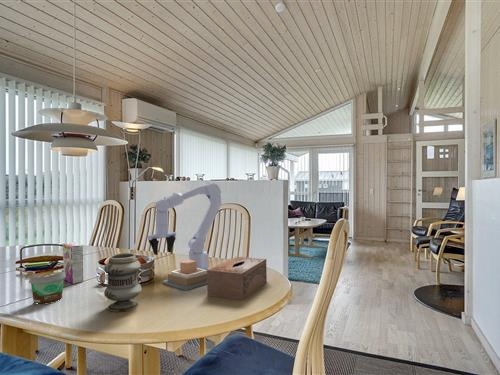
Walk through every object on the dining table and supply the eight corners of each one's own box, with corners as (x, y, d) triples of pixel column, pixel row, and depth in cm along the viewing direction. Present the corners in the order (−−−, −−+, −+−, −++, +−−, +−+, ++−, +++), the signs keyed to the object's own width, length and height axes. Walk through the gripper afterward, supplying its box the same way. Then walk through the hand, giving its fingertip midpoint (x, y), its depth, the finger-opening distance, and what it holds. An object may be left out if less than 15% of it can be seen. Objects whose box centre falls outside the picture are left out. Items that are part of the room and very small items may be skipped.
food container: (37, 308, 115) (37, 279, 115) (29, 305, 118) (28, 277, 118) (72, 297, 125) (72, 271, 125) (63, 295, 129) (63, 269, 129)
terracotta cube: (188, 271, 147) (187, 259, 147) (196, 272, 145) (196, 261, 145) (180, 273, 143) (180, 262, 143) (189, 275, 140) (189, 263, 140)
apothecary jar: (104, 315, 107) (103, 260, 107) (104, 303, 118) (103, 253, 118) (143, 309, 112) (142, 256, 112) (140, 298, 123) (139, 250, 123)
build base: (191, 275, 155) (191, 264, 155) (215, 281, 144) (215, 270, 144) (162, 283, 143) (162, 271, 143) (186, 290, 132) (186, 278, 132)
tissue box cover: (241, 301, 120) (241, 273, 120) (207, 296, 126) (207, 270, 126) (266, 281, 144) (266, 258, 144) (236, 278, 150) (236, 256, 150)
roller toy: (103, 281, 146) (102, 268, 146) (117, 281, 146) (117, 268, 146) (98, 284, 142) (98, 271, 142) (113, 284, 142) (113, 271, 142)
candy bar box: (62, 279, 150) (62, 243, 150) (74, 277, 154) (74, 242, 154) (71, 284, 143) (71, 246, 142) (83, 282, 146) (83, 244, 146)
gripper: (169, 222, 166) (170, 249, 166) (144, 225, 155) (144, 254, 155) (178, 223, 161) (178, 251, 162) (152, 226, 150) (152, 256, 151)
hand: (162, 253), depth 158 cm, fingers open, 7 cm apart
